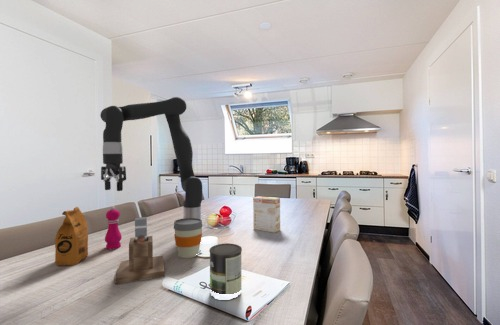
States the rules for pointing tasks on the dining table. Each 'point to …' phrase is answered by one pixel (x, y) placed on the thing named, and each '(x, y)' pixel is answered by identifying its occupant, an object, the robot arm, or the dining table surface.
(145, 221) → the column
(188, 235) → the reusable coffee cup
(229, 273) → the coffee can
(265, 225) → the coffeecake box
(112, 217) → the pepper mill
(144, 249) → the stand
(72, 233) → the coffee package
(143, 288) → the dining table surface
